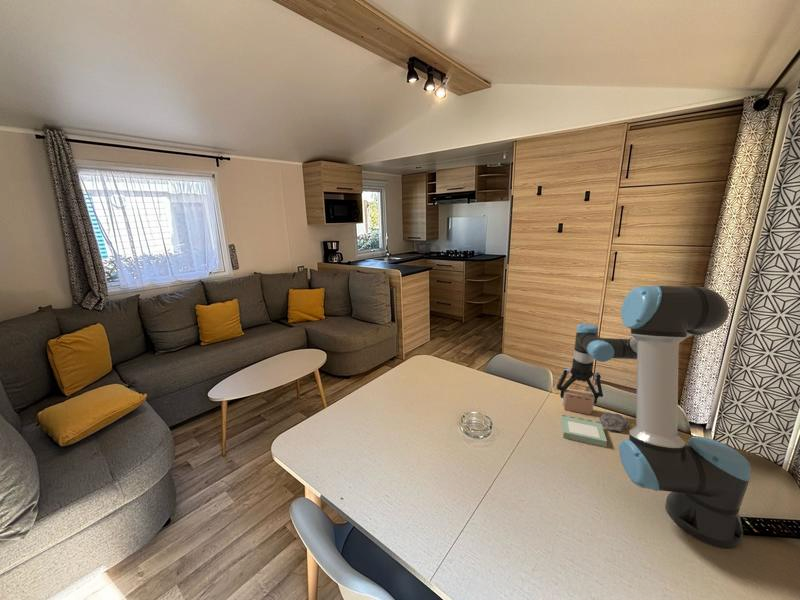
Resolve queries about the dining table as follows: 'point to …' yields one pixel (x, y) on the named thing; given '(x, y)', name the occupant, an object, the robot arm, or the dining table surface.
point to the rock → (614, 421)
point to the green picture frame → (583, 430)
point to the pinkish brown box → (578, 401)
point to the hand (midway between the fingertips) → (577, 406)
